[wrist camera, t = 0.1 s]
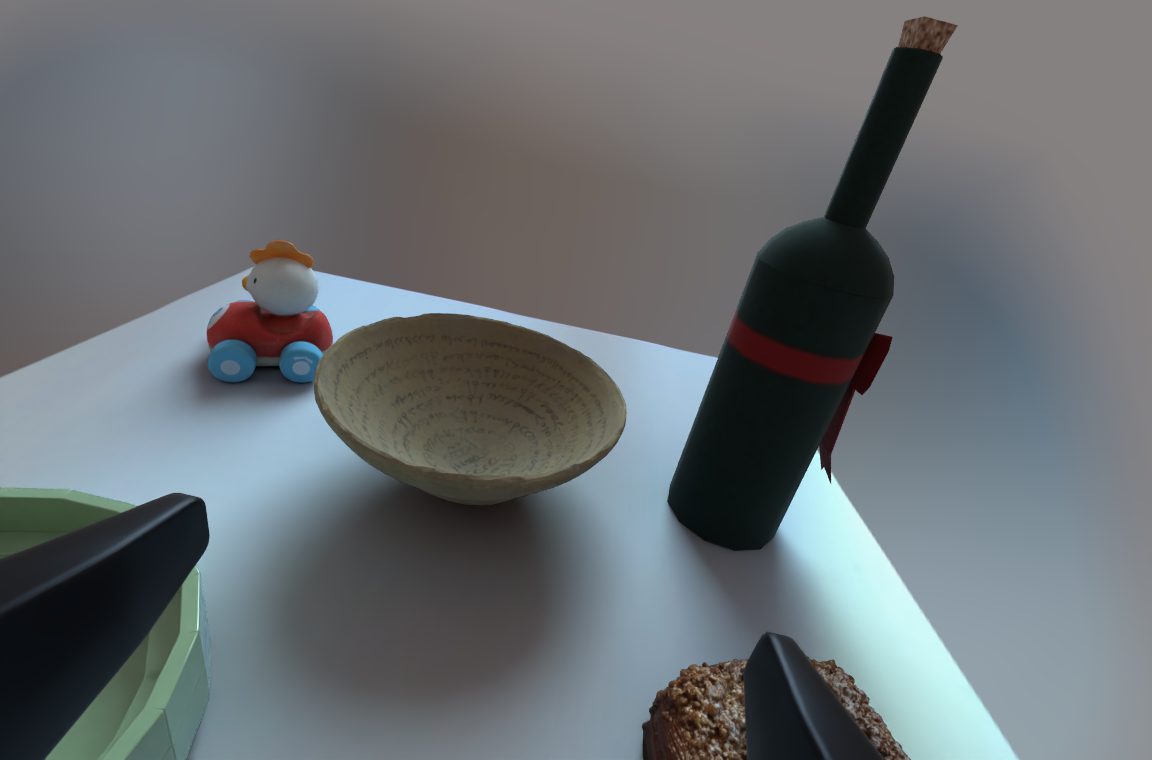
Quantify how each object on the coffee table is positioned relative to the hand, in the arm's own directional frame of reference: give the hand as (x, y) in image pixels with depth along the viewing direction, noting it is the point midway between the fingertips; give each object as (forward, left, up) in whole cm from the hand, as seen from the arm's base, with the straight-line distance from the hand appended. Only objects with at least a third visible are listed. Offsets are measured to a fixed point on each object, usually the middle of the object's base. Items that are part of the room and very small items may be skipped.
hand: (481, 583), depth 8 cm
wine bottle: (+26, -14, -17) cm, 34 cm away
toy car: (+32, +24, -17) cm, 43 cm away
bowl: (+23, +5, -17) cm, 29 cm away
